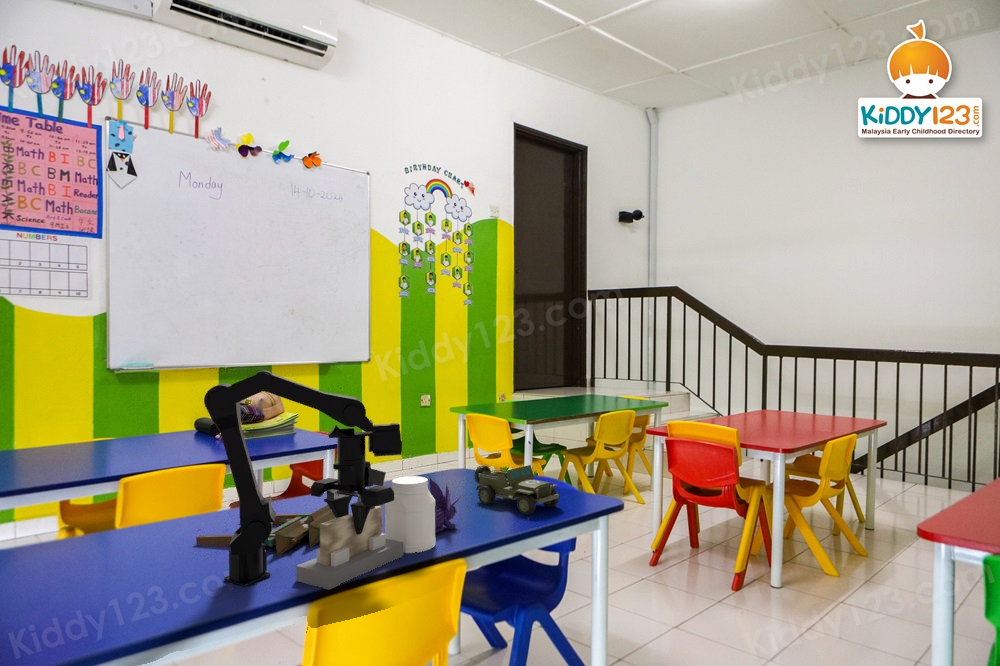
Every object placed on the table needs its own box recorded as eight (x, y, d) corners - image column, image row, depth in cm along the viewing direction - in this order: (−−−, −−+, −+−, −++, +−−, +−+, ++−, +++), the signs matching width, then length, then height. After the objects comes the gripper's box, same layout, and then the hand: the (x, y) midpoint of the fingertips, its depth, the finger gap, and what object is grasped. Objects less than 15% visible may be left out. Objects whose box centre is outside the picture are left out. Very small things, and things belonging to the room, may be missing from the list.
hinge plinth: (329, 589, 126) (328, 560, 126) (296, 580, 131) (295, 553, 131) (403, 556, 145) (403, 530, 145) (372, 549, 149) (372, 525, 149)
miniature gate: (251, 505, 176) (356, 501, 171) (253, 525, 176) (358, 523, 170) (184, 535, 150) (305, 532, 144) (185, 559, 150) (307, 557, 144)
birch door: (327, 565, 130) (327, 522, 130) (320, 564, 131) (319, 520, 131) (382, 543, 144) (381, 504, 144) (375, 542, 145) (374, 502, 145)
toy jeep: (535, 518, 174) (534, 476, 174) (469, 502, 192) (468, 464, 192) (563, 509, 183) (563, 469, 183) (498, 494, 200) (497, 458, 200)
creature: (475, 525, 167) (474, 476, 167) (417, 541, 155) (416, 489, 155) (452, 518, 174) (452, 471, 174) (395, 533, 161) (394, 483, 161)
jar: (443, 544, 153) (442, 479, 153) (414, 555, 145) (413, 487, 145) (407, 535, 160) (406, 473, 160) (377, 546, 152) (377, 480, 152)
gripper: (411, 455, 140) (411, 529, 140) (346, 448, 149) (346, 517, 149) (375, 464, 130) (375, 544, 130) (308, 456, 140) (309, 530, 140)
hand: (352, 532), depth 138 cm, fingers open, 4 cm apart
